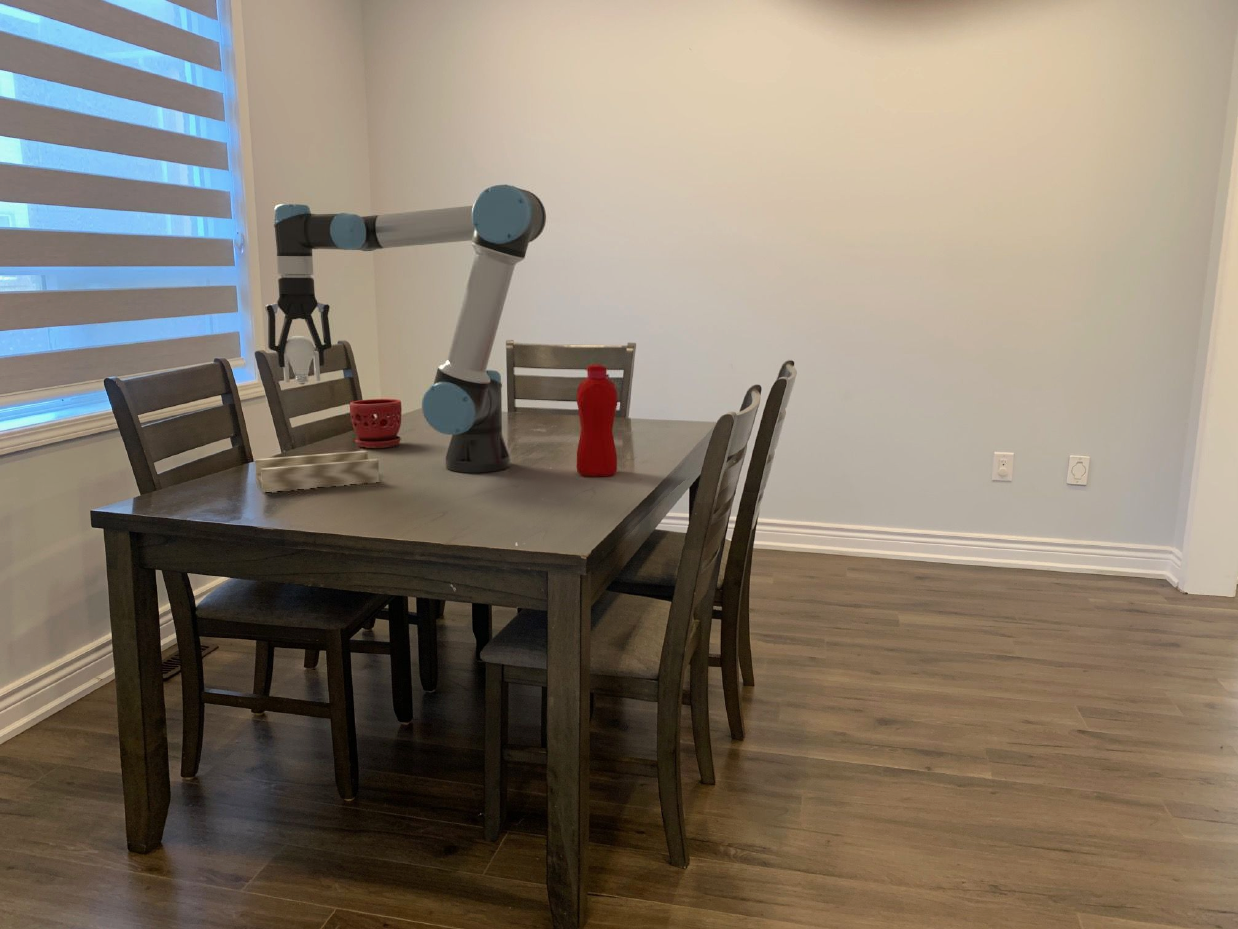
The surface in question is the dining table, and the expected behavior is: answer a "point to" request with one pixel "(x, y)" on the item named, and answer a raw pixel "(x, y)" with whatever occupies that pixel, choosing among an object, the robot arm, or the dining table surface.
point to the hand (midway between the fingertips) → (302, 380)
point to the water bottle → (597, 423)
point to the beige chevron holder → (315, 471)
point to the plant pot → (376, 422)
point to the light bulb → (300, 356)
